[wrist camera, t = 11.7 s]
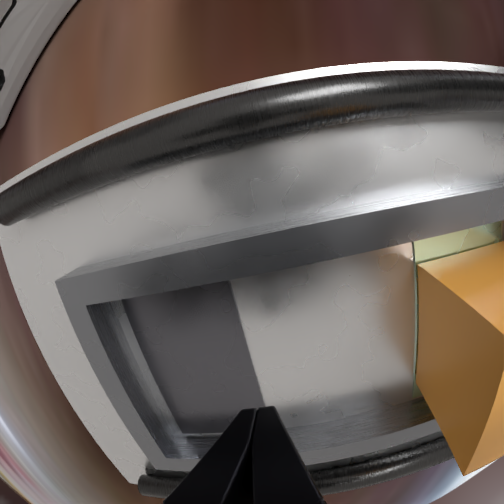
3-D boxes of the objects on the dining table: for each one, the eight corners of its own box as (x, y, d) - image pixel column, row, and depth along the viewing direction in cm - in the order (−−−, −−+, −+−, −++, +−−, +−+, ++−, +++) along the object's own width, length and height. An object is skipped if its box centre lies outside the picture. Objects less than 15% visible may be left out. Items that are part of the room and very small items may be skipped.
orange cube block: (503, 240, 8) (599, 287, 4) (492, 352, 10) (553, 422, 5) (417, 264, 9) (510, 340, 4) (415, 382, 10) (463, 476, 5)
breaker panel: (507, 79, 8) (554, 66, 5) (502, 395, 13) (526, 428, 9) (16, 188, 12) (-35, 198, 8) (138, 461, 16) (122, 499, 12)
